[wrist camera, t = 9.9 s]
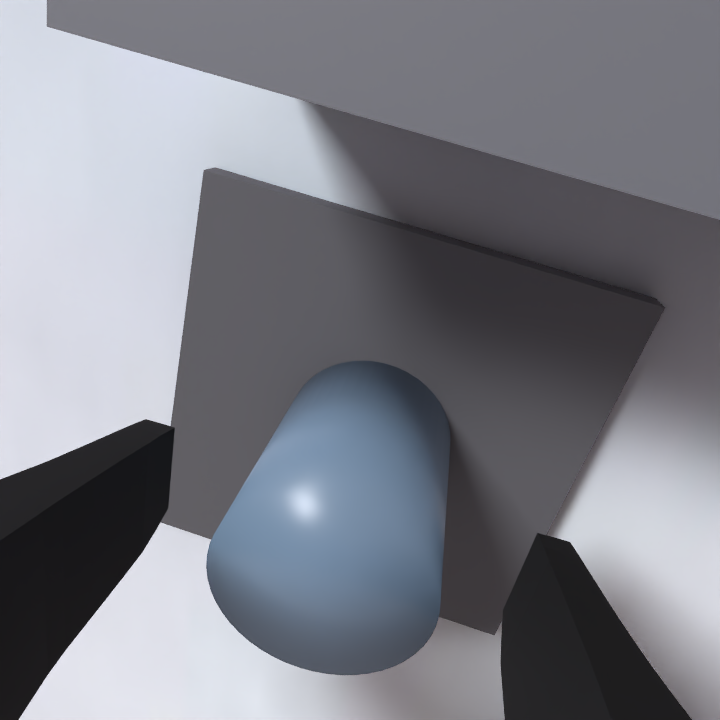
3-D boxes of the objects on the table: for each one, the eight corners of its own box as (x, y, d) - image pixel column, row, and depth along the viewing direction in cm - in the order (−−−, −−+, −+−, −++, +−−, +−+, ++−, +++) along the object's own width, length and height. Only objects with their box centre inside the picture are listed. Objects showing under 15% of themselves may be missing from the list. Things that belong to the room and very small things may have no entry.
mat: (656, 298, 12) (664, 307, 12) (493, 617, 16) (494, 634, 16) (215, 167, 13) (203, 170, 12) (168, 508, 17) (158, 521, 17)
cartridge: (485, 428, 13) (492, 591, 9) (385, 527, 15) (349, 707, 11) (348, 327, 13) (282, 446, 9) (260, 441, 15) (168, 589, 10)
